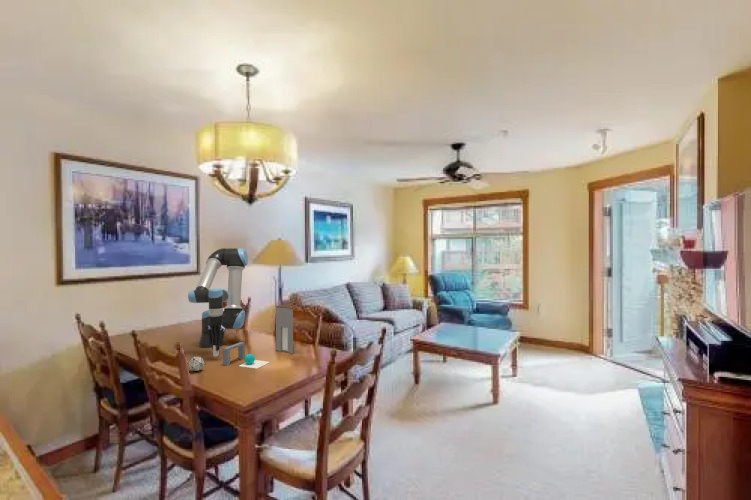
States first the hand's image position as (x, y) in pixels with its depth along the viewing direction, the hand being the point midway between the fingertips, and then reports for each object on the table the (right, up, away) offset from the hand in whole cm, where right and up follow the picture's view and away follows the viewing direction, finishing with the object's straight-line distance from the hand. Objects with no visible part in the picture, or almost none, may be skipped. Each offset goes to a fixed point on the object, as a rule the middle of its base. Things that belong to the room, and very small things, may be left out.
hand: (215, 355), depth 222 cm
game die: (-1, -3, -21) cm, 21 cm away
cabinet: (+35, -2, +19) cm, 40 cm away
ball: (+23, +1, -9) cm, 24 cm away
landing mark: (+25, -2, -9) cm, 27 cm away
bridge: (+12, -2, -4) cm, 13 cm away
